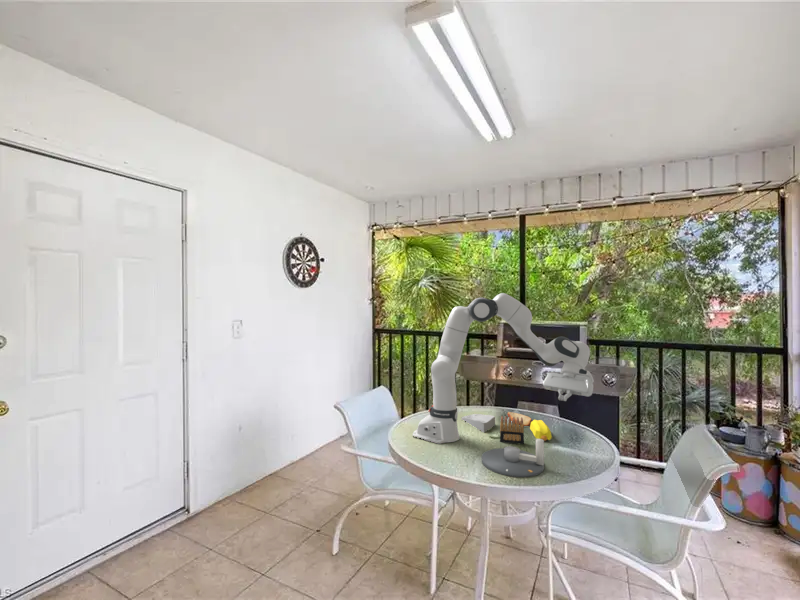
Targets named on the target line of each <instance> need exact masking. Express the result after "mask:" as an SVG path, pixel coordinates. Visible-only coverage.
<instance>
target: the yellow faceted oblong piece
mask: <svg viewBox="0 0 800 600" xmlns="http://www.w3.org/2000/svg"><path fill="white" fill-rule="evenodd" d="M529 429H530V431H531V432H532V434H533V436H534V438H535V440H536V439H543V440H544V442H546V441H548V440H549V441H551V440H552V439H553V436H552V432H551V429H550V428H549V425H547V424H546V423H545V422H544V421H543V420H542V419H538V420H537V419H532V422H531V425H530V427H529Z"/></svg>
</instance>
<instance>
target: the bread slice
mask: <svg viewBox="0 0 800 600" xmlns="http://www.w3.org/2000/svg"><path fill="white" fill-rule="evenodd" d="M507 415H508V417H509V416H510V417H511V421H512V420H513V417H514V418H515V425H516V421H517V417H518V418H519V425H520V422H521V417H522V418H523V426H530V425H531V422H532V421H533V419H532V418H531V417H530V416H528V415H525V414H522V413H517V412H512V411H511V412H510V411H507ZM507 415H506V416H507ZM508 417H507V418H508Z"/></svg>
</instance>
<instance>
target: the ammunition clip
mask: <svg viewBox="0 0 800 600" xmlns="http://www.w3.org/2000/svg"><path fill="white" fill-rule="evenodd" d="M499 427H500V428H499V429H500V430H499V432H500V434H499V442H500V443H509V444H518V443H520V445H521V444H522V445H524V444H525V438H524V437H525V433H524V432H525V430H524V429H525V427H524V426H523V418H522V417H521V422H520V426H519V418H518V417H517V421H516V424H515V418H514V417H513V420H512V422H511V417H510V416H509V419H508V417H507V415H505V416H503V415H501V417H500V424H499Z"/></svg>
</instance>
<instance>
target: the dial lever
mask: <svg viewBox="0 0 800 600" xmlns="http://www.w3.org/2000/svg"><path fill="white" fill-rule="evenodd" d="M520 450H521V449H520V448H519V447H516V446H512V445H511V446H509V445H507V446H504V459H505V460H506V461H509V462H519V461H520V459H523V460H529V461H534V462H536V464H538V465H544V466H545V441H544V440H543V439H536V438H535V454H534V455H529V454H523V453H520ZM535 455H536V456H535Z"/></svg>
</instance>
